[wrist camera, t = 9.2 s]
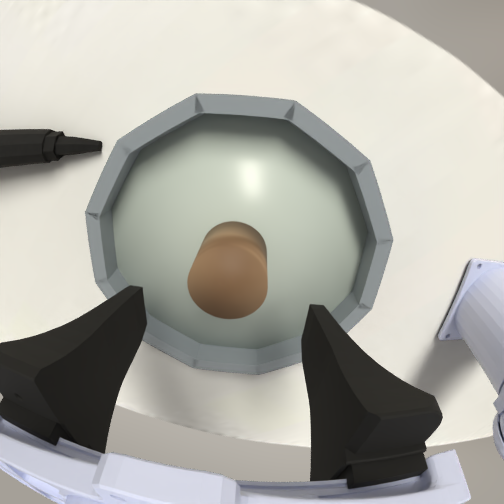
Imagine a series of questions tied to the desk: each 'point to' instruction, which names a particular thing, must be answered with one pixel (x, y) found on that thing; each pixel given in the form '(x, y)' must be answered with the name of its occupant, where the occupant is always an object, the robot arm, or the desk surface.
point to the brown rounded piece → (230, 271)
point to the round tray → (241, 210)
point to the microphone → (40, 146)
